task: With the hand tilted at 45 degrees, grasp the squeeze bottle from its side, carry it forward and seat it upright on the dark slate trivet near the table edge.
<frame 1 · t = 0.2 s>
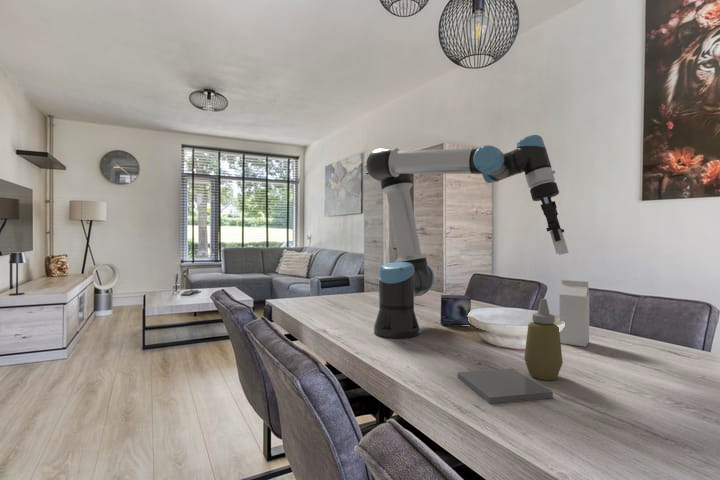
hand: (562, 253, 113), 28 cm above the table, tool tilted 15°, fingers open, 13 cm apart
small box: (455, 324, 142), on the table
slate trivet: (502, 387, 83), on the table
milk carton: (574, 343, 118), on the table
squeeze bottle: (543, 377, 90), on the table
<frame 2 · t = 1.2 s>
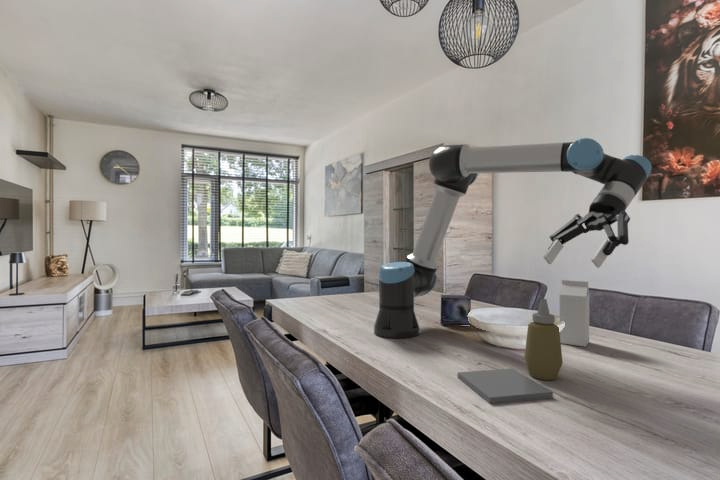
hand: (569, 262, 95), 26 cm above the table, tool tilted 45°, fingers open, 13 cm apart
nothing on the table moved.
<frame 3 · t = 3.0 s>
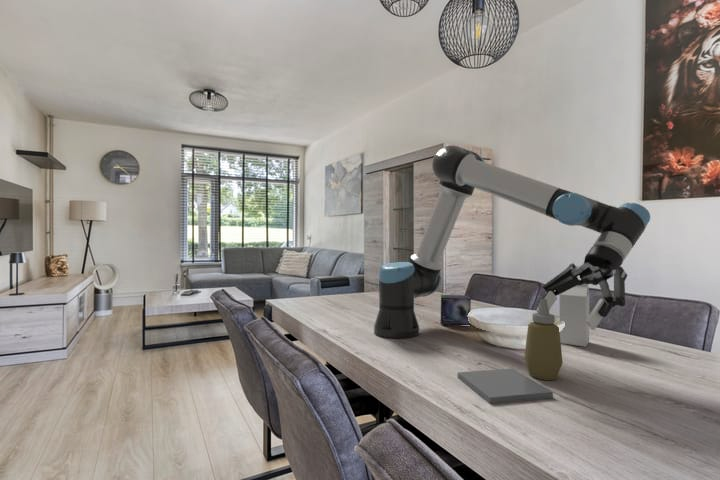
hand: (563, 319, 90), 13 cm above the table, tool tilted 45°, fingers open, 13 cm apart
nothing on the table moved.
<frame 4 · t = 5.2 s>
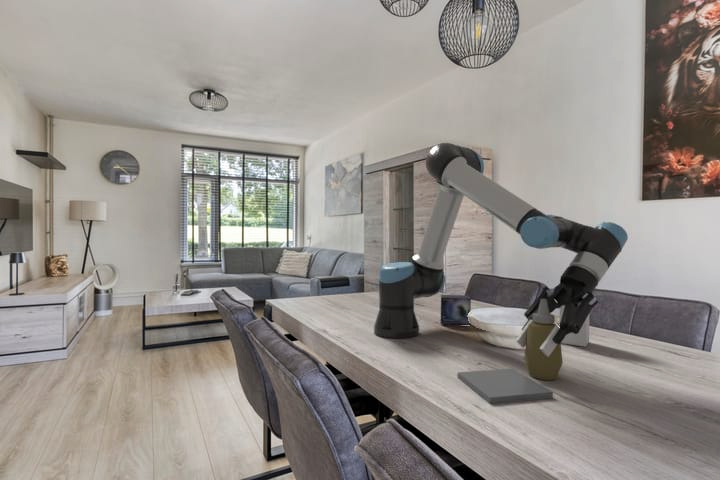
hand: (531, 348, 88), 7 cm above the table, tool tilted 45°, fingers closed on squeeze bottle, 6 cm apart
squeeze bottle: (543, 377, 90), on the table, touching gripper
everything else where it was.
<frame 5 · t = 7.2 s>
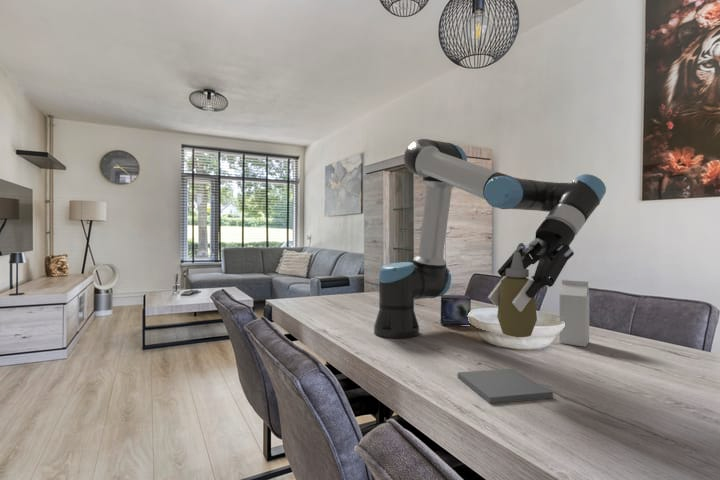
hand: (504, 304, 83), 18 cm above the table, tool tilted 45°, fingers closed on squeeze bottle, 6 cm apart
squeeze bottle: (516, 335, 84), point 11 cm above the table, touching gripper
everything else where it was.
when the fingers open (9 cm above the table, at t = 9.5 s): squeeze bottle stays where it is, resting on slate trivet.
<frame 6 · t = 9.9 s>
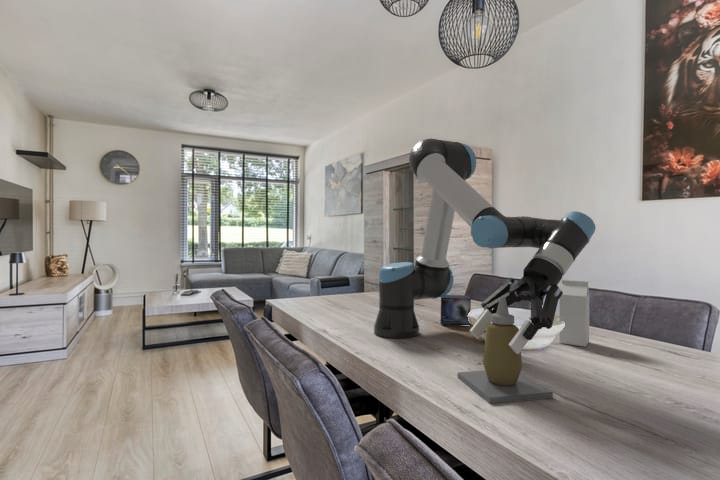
hand: (492, 341, 82), 10 cm above the table, tool tilted 45°, fingers open, 11 cm apart
squeeze bottle: (501, 382, 83), point 1 cm above the table, touching slate trivet
everything else where it was.
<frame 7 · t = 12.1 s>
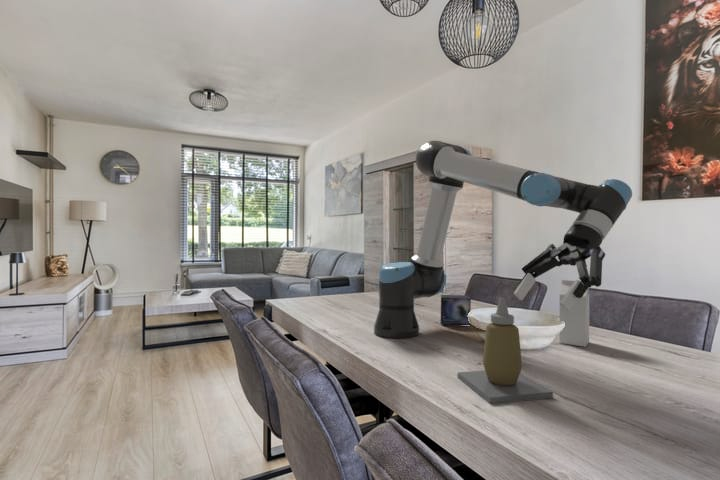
hand: (539, 301, 88), 18 cm above the table, tool tilted 45°, fingers open, 13 cm apart
nothing on the table moved.
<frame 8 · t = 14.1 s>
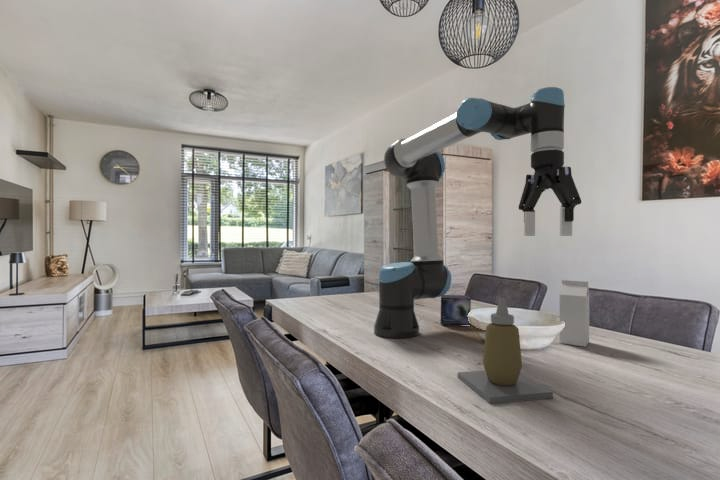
hand: (546, 236, 97), 33 cm above the table, tool pointing down, fingers open, 13 cm apart
nothing on the table moved.
at the end: squeeze bottle inside the target area on the slate trivet (0.1 cm from its centre), point 1.0 cm above the slate trivet's base; squeeze bottle tilted 0°; the gripper is holding nothing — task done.
